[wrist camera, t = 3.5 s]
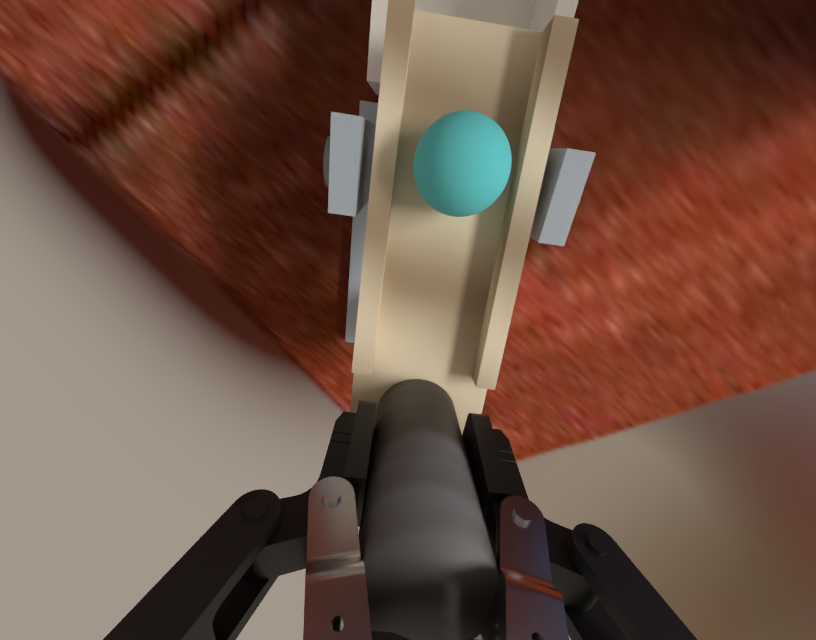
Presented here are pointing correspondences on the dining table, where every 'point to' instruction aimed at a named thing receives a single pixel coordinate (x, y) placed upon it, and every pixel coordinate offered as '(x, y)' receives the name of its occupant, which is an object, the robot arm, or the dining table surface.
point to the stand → (352, 175)
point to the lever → (442, 309)
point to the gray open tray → (494, 3)
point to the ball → (462, 163)
